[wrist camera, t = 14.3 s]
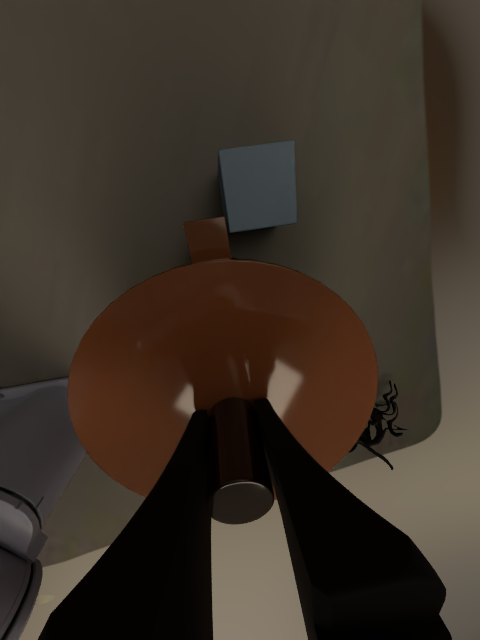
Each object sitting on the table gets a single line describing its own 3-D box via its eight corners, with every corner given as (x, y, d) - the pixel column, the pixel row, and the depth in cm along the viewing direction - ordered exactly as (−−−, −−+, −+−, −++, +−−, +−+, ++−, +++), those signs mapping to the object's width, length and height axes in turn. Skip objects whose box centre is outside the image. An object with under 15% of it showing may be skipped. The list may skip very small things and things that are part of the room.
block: (226, 233, 17) (229, 233, 13) (217, 174, 16) (217, 149, 11) (276, 226, 17) (297, 223, 13) (272, 167, 16) (294, 139, 11)
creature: (354, 361, 24) (318, 422, 25) (398, 383, 19) (351, 460, 19) (401, 388, 26) (367, 444, 27) (452, 414, 21) (409, 483, 22)
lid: (137, 510, 15) (99, 640, 10) (18, 289, 9) (-195, 347, 4) (358, 466, 15) (421, 569, 11) (376, 230, 10) (527, 226, 5)
